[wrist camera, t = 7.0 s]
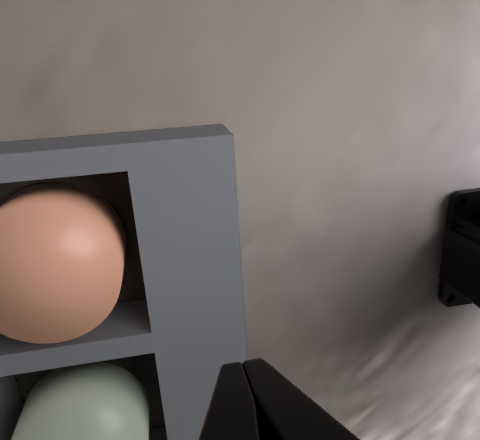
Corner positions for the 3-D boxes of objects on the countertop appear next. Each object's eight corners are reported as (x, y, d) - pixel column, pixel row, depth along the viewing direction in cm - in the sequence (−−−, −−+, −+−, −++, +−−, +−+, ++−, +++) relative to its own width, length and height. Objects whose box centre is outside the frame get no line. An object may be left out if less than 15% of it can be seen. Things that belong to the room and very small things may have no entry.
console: (222, 123, 19) (233, 134, 16) (249, 524, 28) (260, 575, 25) (-164, 155, 17) (-227, 174, 14) (-3, 580, 26) (-22, 643, 23)
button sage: (141, 351, 20) (138, 401, 17) (156, 444, 22) (156, 504, 19) (11, 372, 19) (-15, 428, 16) (38, 466, 21) (20, 532, 18)
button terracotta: (116, 175, 19) (108, 197, 16) (134, 292, 20) (131, 331, 18) (-27, 189, 18) (-63, 215, 15) (7, 310, 20) (-20, 354, 17)
